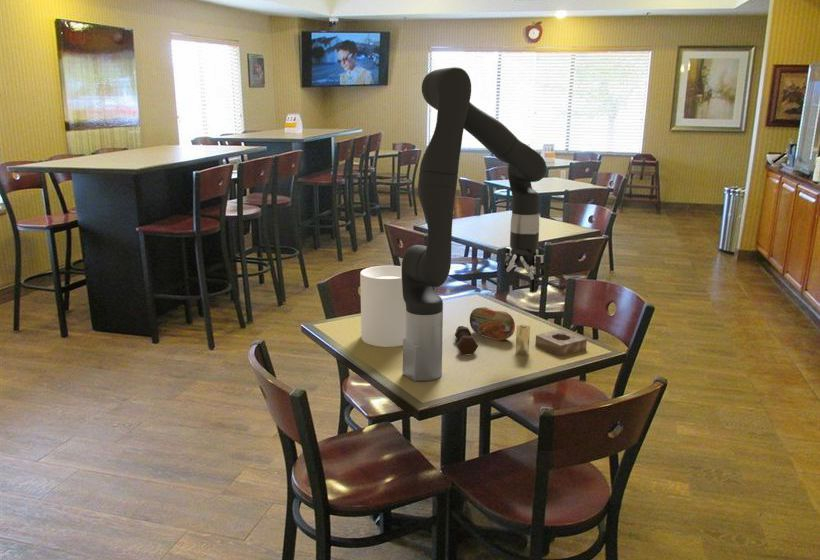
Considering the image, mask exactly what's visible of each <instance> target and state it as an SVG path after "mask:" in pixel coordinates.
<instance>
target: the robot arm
mask: <svg viewBox="0 0 820 560" xmlns="http://www.w3.org/2000/svg"><path fill="white" fill-rule="evenodd" d="M421 93H422V97H423V99H424V100H425V102H426V103H427V104H428V105H429V106H430V107H431V108H433V109H435V110H436V111H437V115H436V122H435V123H436V124H435V128H434V131H433V135H432V137H431V139H430V141H429V143H428V145H427V147H426V149H425V152H424V154H423V156H422V159H421V161H420V166H419V174H418V180H417V181H418V182H417V183H418V184H417V195H418V199H419V202H420V206H421V209H422V212H423V215H424V217H425V220H426V225H427V239H426V240H427V241H426V245H422V244H415V245H411V246H410V247H408V248H407V249H406V251H405V252H404V255H403V258H402V260H401V261H402V262H401V267H402V291H403V298H404V301H405V303H406V338H404V339H403V345H402V375H404V376H406V377H407V378H409V379H411V380H412V381H413V382H417V381H419V382H420V381H421V382H423V381H424V382H427V381H433V380H437V379H439V378H441V377H442V375H443V374H442V373H443V329H444V328H443V318H444V302H443V301H444V300H443V298H442V297H441V296H440V295H439V294H437V292H436V291H435V289H433V288H438V287H441V286H442V285H443V284H445V283H446V282H447V280H448V277H449V275H450V272H451V268H452V267H451V265H452V243H453V242H452V237H453V236H452V234H453V219H454V218H453V217H454V209H455V208H454V207H455V198H456V194H457V186H458V179H459V177H458V176H459V169H460V168H459V167H460V166H459V165H460V156H461V151H462V150H461V149H462V142H463V135H464V130H465V132H468V133H469V134H470V135H471V136H473V137H474V138H475V139H476V141H478V142H479V143H480V144H482V145H483V147H485V149H487V150H488V151H489V152H490V153H491V154H492V155H493V156H494V157H495V158H496V159H497V160H499V161H500V162H502V163H506V164H508V165H507V166H508V167H507V176H508V181H509V188H510V191H511V192H510V193H511V196H512V205H511V206H512V207H511V219H510V231H509V232H510V233H509V246H507V247H504V248H503V250H502V262H501V267H502V269H505V270H506V272H507V280H506V281H507V285H508V286H510V287H511V286H516V281H517V279H516V278H517V271H516V270H517V269H518V268H522V269H524V270H525V271H526V273H528V275H529V277H530V279H529V292H530V293H531V294H534V293H537V292H538V290H539V284H540V283H539V281H540V279H542V278H545V277H546V255H545V254H541V255H540V254H539V255H538V254H537V249H538V248H539V240H540V239H539V238H540V237H539V236H540V194H539V193H538V192H537V191H536V190H534V189H533V186H532V183H536V182H540V181H541V180H542V179H543V178H544V177H545V176H546V175H547V170H548V169H547V166H548V165H547V163H546V161H545V159H544V158H543V156H542V155H541V154H540V153H539V152H537V151H536V150H535V149H533V148H532V147H530V146H529V145H527V144H525V143H524V142H522V141H521V140H520V139H518V137H517V136H516V135H515V134H514V133H512V131H511V130H510V129H509V128H507V126H506V125H504V124H503V123H502V122H501V121H499V120H497V119H496V118H495V117H494V116H491V115H490V114H488V113H487V112H485V111H483V110H481V109H480V108H479V107H477V106H475V105H474V104H473V103H471V102H470V101H471V96H472V82H471V78H470V76H469V74H468V72H467V71H466V70H464V69H463V68H462V67H458V66H451V67H446V68H445V67H443V68H438V69H435V70H431V71H430V72H429V73H427V74H426V75H425V77H423V80H422V83H421Z"/></svg>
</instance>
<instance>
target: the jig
mask: <svg viewBox="0 0 820 560" xmlns="http://www.w3.org/2000/svg"><path fill="white" fill-rule="evenodd" d="M587 339H588V338H585V337H582V336H580V335H577V334H575V333H573V332H570V331H567V330H564V329H563V328H562V329H556V330H552V331H549V332H548V331H547V332H543V333H539V334H535V346H537V347H538V348H541V349H544V350H546V351H549V352H551V353H553V354H555V355H557V356H560V357H561V356H564V355H568V354H573V353H577V352H581V351H585V350H587V344H588V343H587V341H588V340H587Z"/></svg>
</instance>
